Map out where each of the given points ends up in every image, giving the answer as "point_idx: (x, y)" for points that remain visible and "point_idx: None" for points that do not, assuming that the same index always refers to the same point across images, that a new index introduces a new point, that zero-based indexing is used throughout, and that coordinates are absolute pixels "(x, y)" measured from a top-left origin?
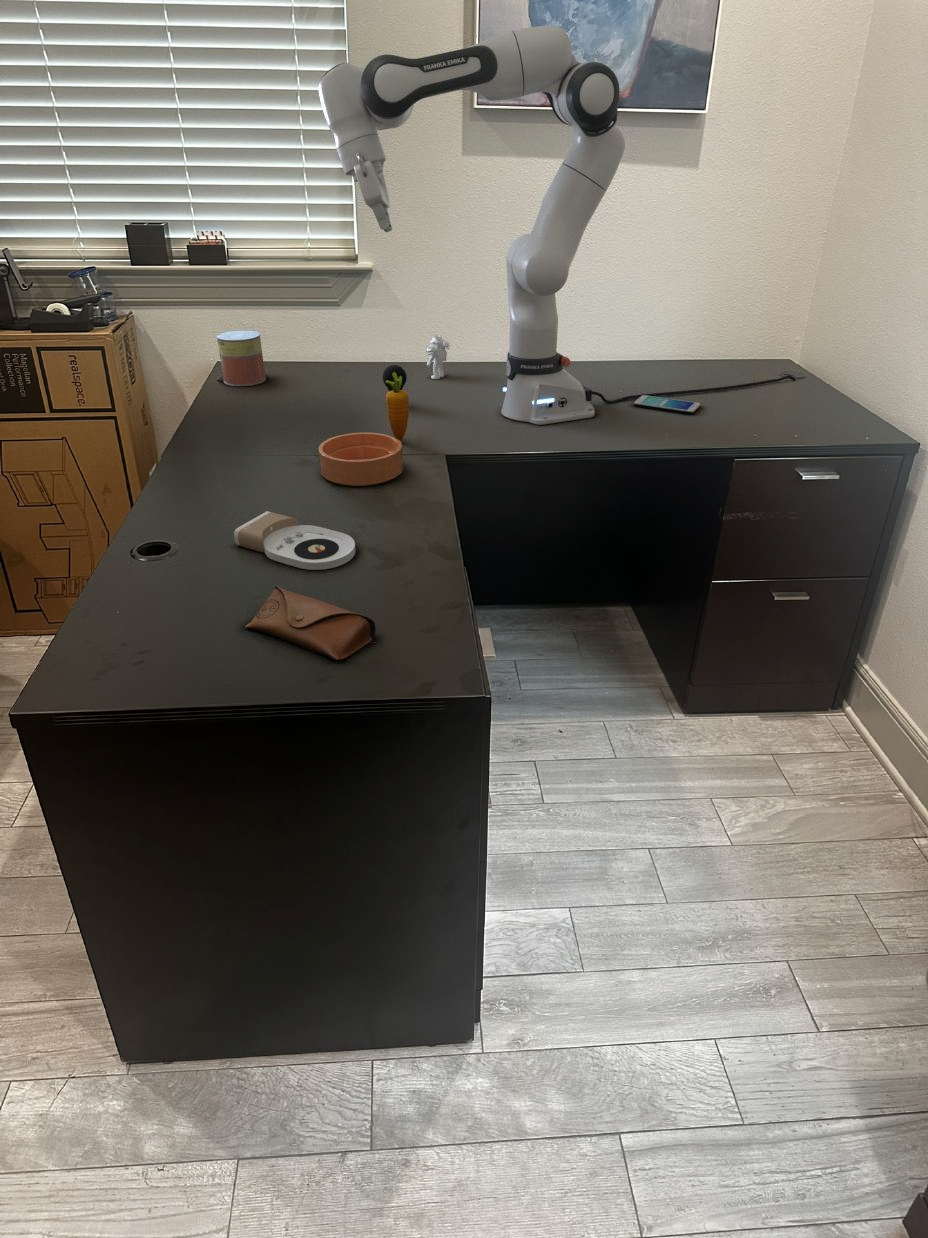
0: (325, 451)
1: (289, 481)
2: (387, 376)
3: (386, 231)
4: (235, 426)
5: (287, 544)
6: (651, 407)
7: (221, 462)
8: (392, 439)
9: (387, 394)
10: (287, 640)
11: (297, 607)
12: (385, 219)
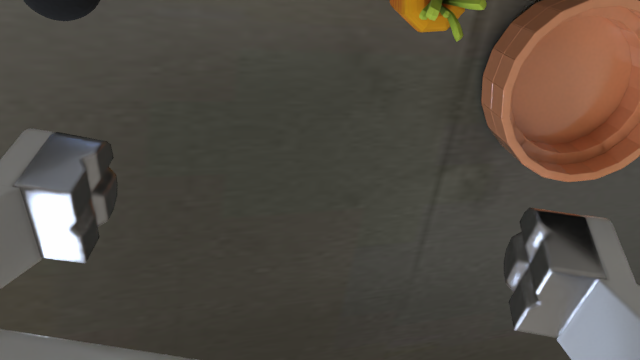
0: (543, 163)
1: None
2: (92, 6)
3: (117, 184)
4: (229, 336)
5: None
6: None
7: (432, 328)
8: (569, 17)
9: (435, 29)
10: None
11: None
12: (626, 275)
